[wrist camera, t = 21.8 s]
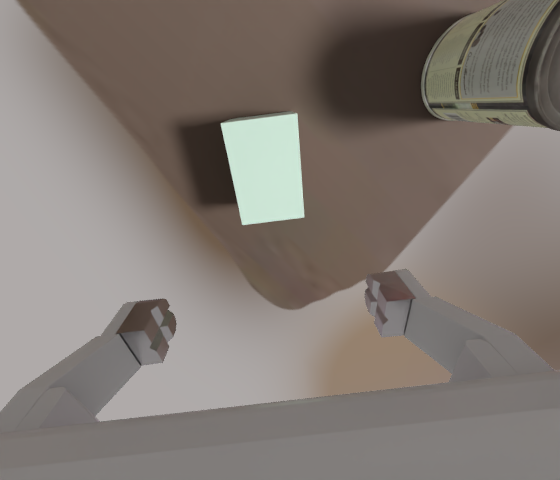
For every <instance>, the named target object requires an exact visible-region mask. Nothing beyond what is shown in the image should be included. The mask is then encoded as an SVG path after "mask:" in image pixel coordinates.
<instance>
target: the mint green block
mask: <svg viewBox="0 0 560 480" xmlns="http://www.w3.org/2000/svg"><path fill="white" fill-rule="evenodd" d="M221 128H222V132H223V137H224V142H225V146H226V151H227V156H228V160H229V165H230V170H231V174H232V179H233V184H234V188H235V193H236V198H237V202H238V207H239V212H240V216H241V221H242V225H247V224H255V223H263V222H271V221H279V220H287V219H295V218H303V217H304V206H303V191H302V176H301V162H300V147H299V132H298V117H297V113H295V112H291V111H289V112H281V113H274V114H266V115H258V116H251V117H243V118H235V119H230V120H227V121H225V122H223V123H221Z"/></svg>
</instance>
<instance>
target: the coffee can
mask: <svg viewBox="0 0 560 480" xmlns="http://www.w3.org/2000/svg"><path fill="white" fill-rule="evenodd" d="M421 92H422V98H423V102H424V104H425V106H426V108H427V109H428V111H429V112H430V113H431V114H432V115H434V116H435V117H437V118H439V119H442V120H448V121H454V120H457V121H468V122H481V123H494V124H506V125H516V126H531V127H544V128H550V129H553V130H557V131H560V0H503V1H501V2H499V3H496V4H494V5H492V6H490V7H488V8H485V9H483V10H481V11H479V12H476V13H472V14H470V15H467V16H465V17H463V18H462V19H460V20H458V21H457V22H455V23H454V24H453V25H452V26H450V27H449V28H448V29H447V30H446V31H445V32H444V33H443V34H442V35H441V37H440V38H439V39H438V40H437V41H436V43H435V45H434V46H433V48H432V50H431V52H430V53H429V55H428V57H427V60H426V63H425V65H424V69H423V73H422V80H421Z"/></svg>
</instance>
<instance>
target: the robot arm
mask: <svg viewBox="0 0 560 480" xmlns="http://www.w3.org/2000/svg"><path fill="white" fill-rule="evenodd" d="M366 283H367V285H368V288H367V289H366V290H365V302H366V306H367V309H368V311H369V313H370V314H371V315H372V316H374V317H375V321H374V323H375V325H376V327H377V329H378V331H379V333H380V335H381V337H390V336H401V335H404V336H405V337H406V338H407V339H408V340H410V341H411V342H412V343H414V344H415V345H416V346H417V347H419V348H420V349H421V350H423V351H424V352H425V353H426V354H428V355H429V356H430V357H431V358H433V359H434V360H435V361H437V362H438V363H439V364H440V365H442V366H443V367H444V368H445V369H447V370H448V371H449V372H451V373H452V376H451V378H450V381H449V382H448V383H440V384H431V385H422V386H413V387H404V388H395V389H387V390H377V391H369V392H360V393H351V394H342V395H334V396H325V397H316V398H307V399H298V400H289V401H280V402H271V403H263V404H254V405H245V406H236V407H227V408H218V409H210V410H201V411H192V412H183V413H175V414H165V415H156V416H147V417H139V418H129V419H120V420H111V421H103V422H100V421H99V420H98V419H97V418H96V417H95V416H96V415H97V413H99V411H100V410H101V409H102V408H103V407H104V406H105V405H106V404H107V403H108V402H109V401H110V400H111V399H112V397H113V396H114V395H115V394H116V393H117V392H118V391H119V390H120V389H121V388H122V387H123V385H125V383H126V382H127V381H128V380H129V379H130V378H131V377H132V376H133V375H134V374H135V373H136V372H137V371H138V370H139V368H140V367H141V366H142V365H149V364H156V363H163V361H164V359H165V356H166V354H167V351H168V349H169V345H168V341H169V340H170V339H172V338H173V336H174V333H175V331H176V318H175V316H174V314H173V313H172V312H170V311H169V310H168V308H169V306H170V305H169V304H168V302H167V300H166V299H154V300H144V301H137V302H127V303H125V304H123V306H122V307H121V308H120V310H119V311H118V313H117V314H116V315H115V317H114V318H113V319H112V321H111V322H110V324H109V325H108V326H107V328H106V329H105V331H104V332H103V333H102V335H101V336H98V337H95V338H94V339H92V340H91V341H89V342H88V343H86V344H85V345H84V346H82V347H81V348H79V349H78V350H76V351H75V352H74V353H72V354H71V355H69V356H68V357H66V358H65V359H63V360H62V361H61V362H59V363H58V364H56V365H55V366H53V367H52V368H51V369H49V370H48V371H46V372H45V373H43V374H42V375H40V376H39V377H38V378H36V379H35V380H33V381H32V382H30V383H29V384H27V385H26V386H25V387H23V388H22V389H20V390H19V391H18V392H17V393H16V395H15V396H14V397H13V398H12V399H11V400H10V402H8V404H7V405H6V406H5V407H4V408H3V409H2V411H1V412H0V480H560V370H554V369H552V368H551V367H550V366H549V365H548V364H547V363H546V362H545V361H544V360H543V359H542V358H541V357H540V356H538V355H537V354H536V353H535V352H534V351H533V350H532V349H531V348H530V347H529V346H528V345H527V344H525V343H524V342H523V341H522V340H521V339H520V338H519V337H518V336H517V335H516V334H514V333H512V332H510V331H508V330H506V329H504V328H502V327H499V326H497V325H495V324H493V323H491V322H489V321H487V320H484V319H482V318H480V317H478V316H476V315H474V314H472V313H470V312H467V311H465V310H463V309H461V308H459V307H457V306H455V305H452V304H450V303H448V302H446V301H444V300H442V299H440V298H438V297H431V296H430V295H429V293H428V292H427V291H426V290H425V289H424V288H423V286H422V285H421V284H420V283H419V282H418V281H417V280H416V278H415V277H414V276H413V275H412V274H411V273H410V271H408V270H407V269H402V270H395V271H390V272H382V273H374V274H368V275H367V277H366Z"/></svg>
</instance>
